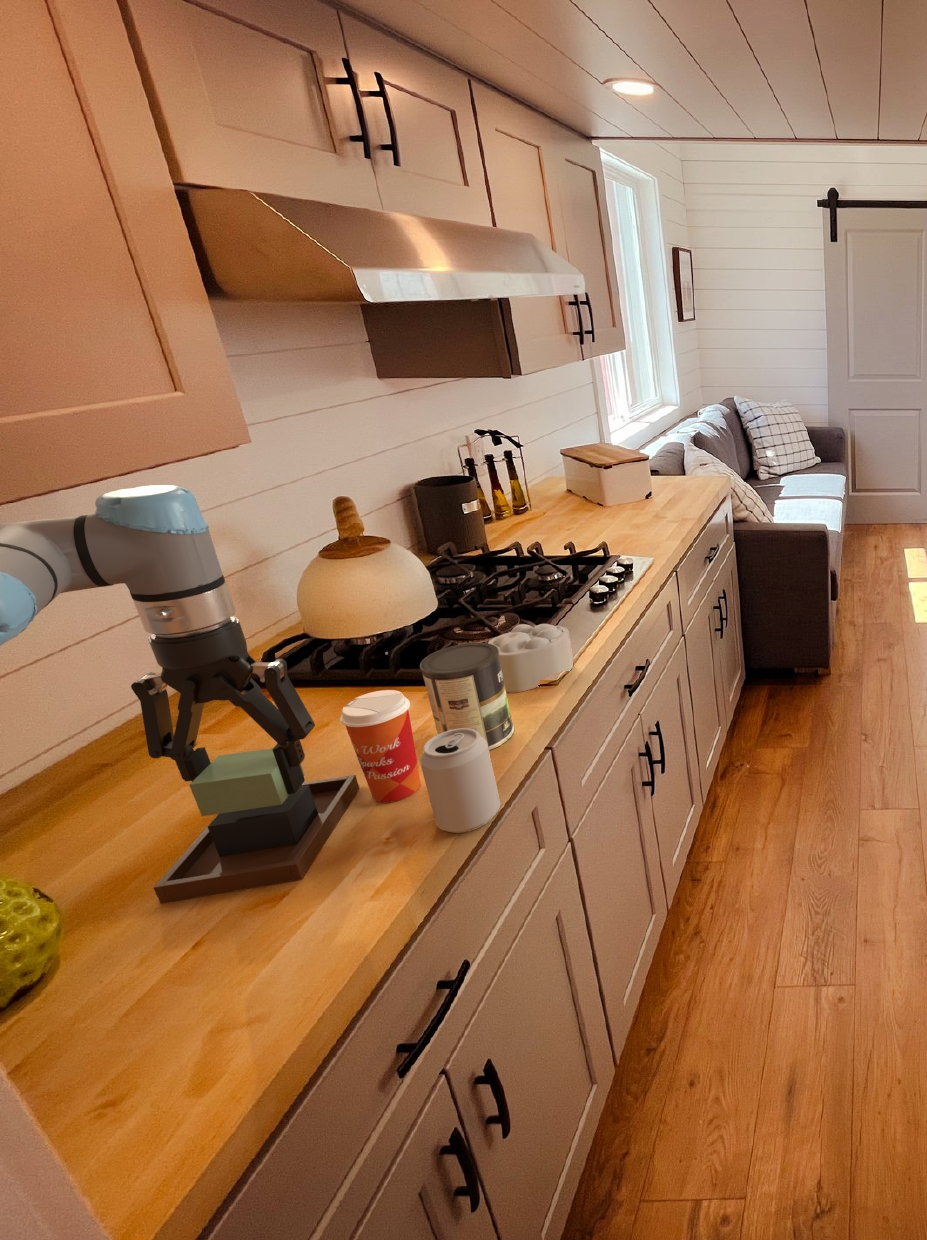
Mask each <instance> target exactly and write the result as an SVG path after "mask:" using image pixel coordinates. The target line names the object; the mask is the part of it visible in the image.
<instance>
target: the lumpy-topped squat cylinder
mask: <svg viewBox="0 0 927 1240" xmlns="http://www.w3.org/2000/svg"><path fill="white" fill-rule="evenodd" d="M487 643H488V644H492V645H494V646H496V647H497V648H498V650H499V660H500V665H501V670H502V675H503V679H504V684H505V689H506V693H510V694H511V693H522V692H525V691H529V690H533V689H536V687H537V688H540V687H539V686H538V685H540V684H539V682H540V680H541V679H543V678H545V677H548V676H550V675H553V674H556V673H558V672H561V671H570V670H571V668H572V666H573V660H574V655H573V649H572V643H571V636H570V631H569V629H568V628H567V627H565V626H562V625H552V624H549V623H540V624H538V625H534V626H532V625H529V624H527V623H526V624H525V623H520V624H517V625H516V626H514V627H513V628H512V629H511V631H510V632H507V633H503V634H500V635H498V636H495V637H493V638H492V639H490V640H489V641H488V642H487ZM571 671H572V670H571ZM571 671H570V672H571Z"/></svg>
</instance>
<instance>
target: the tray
mask: <svg viewBox="0 0 927 1240" xmlns="http://www.w3.org/2000/svg"><path fill="white" fill-rule="evenodd" d="M306 785H309V787H310V790H311V793H312V796H313V799H314V802H315V806H316V809H317V812H318V814H317V816H316V817H315V819H314V820H313V822H312V823H311V825H310V826H309V827H308V829H307V830H306V832H305V833H304V835H303V836H302V838H301V839H300V841H299V842H298V844H296V845H289V846H283V847H277V848H271V849H264V850H258V851H252V852H245V853H239V854H233V855H227V856H220V857H219V855H218V852H217V850H216V847H215V845H214V842H213V839H212V837H211V834H210V832H209V829H208V826H209V824H208V825H207V826H206V827H205V828H204V829H203V830H202V831H201V833H200V834H199V835H198V836H197V837H196V839H194V840H193V842H192V843H191V844H190V845H189V847H188V848H187V849H186V850H185V851H184V852H183V853H182V855H181V856H180V857H179V858H178V859H177V860H176V861H175V863H173V865H172V866H171V867H170V868H169V870H167V871H166V872H165V874H164V875H163V876H162V877H161V879H159V880H158V882H157V883H156V884H155V885H154V886H153V890H154V892H155V895H156V897H157V899H158V901H159V904H165V903H172V902H177V901H183V900H189V899H194V898H200V897H201V898H202V897H206V896H212V895H218V894H224V893H229V892H236V891H242V890H249V889H254V888H259V887H265V886H270V885H277V884H282V883H289V882H293V881H301V880H303V879H304V877H305V875H306V874H307V872H308V870H309V869H310V867H311V866H312V865H313V863H314V861H315V860H316V858H317V857H318V855H319V853H320V852H321V851H322V849H323V847H324V845H325V844H326V842H327V840H328V839H329V838H330V836H331V834H332V833H333V831H334V829H336V826H337V825H338V823H339V822H340V820H341V818H342V817H343V816H344V814H345V812H346V811H347V809H348V807H349V806H350V805H351V802H352V801H353V800H354V798H355V797H356V795H357V794H358V792H359V790H360V786H359V782H358V778H357V775H356V774H352V775H345V776H338V777H332V778H324V779H318V780H316V779H315V780H310V781H304V782H303V784H302V785H301V786H306ZM215 818H216V816H215V817H214V818H213V819H212V820H211V822H212V821H213V820H214V819H215Z"/></svg>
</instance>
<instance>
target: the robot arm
mask: <svg viewBox="0 0 927 1240" xmlns="http://www.w3.org/2000/svg"><path fill="white" fill-rule="evenodd" d="M121 584H122V585H123V584H125V585H126V587H127V589H128V590H129V595H130V597H131V599H132V601H133V603H134V606H135V608H136V611H137V613H138V616H139V618H140V621H141V624H142V626H143V629H144V631H145V632H146V633H147V634H150V636H149V637H148V640H147V641H148V643H149V646H150V648H151V651H152V653H153V655H154V659H155V661H156V663H157V664H158V666H159V667H161V668H162V669H161V672H159V673H156V672H153V671H151V672H147V673H145V674H144V675H142V676H141V677H139V678H138V679H137V680H136V681H134V682H133V683H131V685H130V688H131V690H132V692H133V693H134V694H135V696H136V697H137V699H138V700H139V702H140V708H141V714H142V715H141V716H142V720H143V721H142V722H143V727H144V734H145V740H146V745H147V752H148V756H149V757H150V758H152V759H160V758H161V757H163V758H170V759H171V760H172V761H174V762H175V764H176V766H177V769H178V771H179V774H180V776H181V779H182V780H183V781H184V782H191V783H192V782H193V781H194V780H195V779H196V777H197V776H199V775H200V774H201V773H202V772H203V771H204V770H205V769H206V768H207V766H208V765H209V764H210V763H211V762H212V761H211V760H210V757H209V754H208V752H207V749H206V747H205V746H204V747H203V746H202V747H196V746H197V745H198V744H199V743H200V742H199V741H197V740H198V735H199V730H200V725H201V721H202V717H203V712H204V711H203V710H204V707H205V704H206V703H210V702H213V701H222V702H223V701H228V702H230V703H231V704H232V705H233V706H234V707H236V708H237V707H238V708H241V709H242V711H244V712H245V713H246V714H247V715H248V716H249V717H250V719H252V720H253V721H254V722H255V723H256V724H257V725H258V726H259V727H260V728H261V729H262V730H263V731H265V733H266V734H268V735H269V736H270V738H271V739H272V740H274V741H275V743H276V744H275V746H274V747H272V748H273V749H272V748H271V749H272V750H273V753H274V756H275V759H276V762H277V765H278V767H279V770H280V773H281V776H282V778H283V781H284V784H285V787H286V790H287V793H288V794H294V793H296V791H297V790H298V789H299V787H300V786H301V785H302V784H303V782H306V778H305V775H304V776H303V773H302V770H301V767H300V764H301V765H302V763H303V761H304V760H305V757H306V755H305V754H306V753H305V752H304V749H303V745H302V742H301V740H305V739H306V738H307V737H308V735H309V734H310V733H311V732H312V731H313V729H314V728H315V727H316V723H315V721H314V720H313V717H312V716H311V714H310V713H309V710H308V709H307V707H306V706H305V704H304V702H303V700H302V699H301V697H300V695H299V694H298V691H297V690H296V688H295V687H294V685H293V682H292V681H291V680H290V678H289V675H288V663H287V661H286V660H285V659H283V658H277V659H275V660H274V661H273V662H264V661H263V662H262V661H261V662H258V661H256V659H255V658H254V657H252V656H251V655H250V653H249V652H248V644H247V643H248V642H247V640H246V637H245V634H244V630H243V628H242V625H241V622H240V620H239V618H238V617H236V616H234V615H236V612H237V609H236V607H235V605H234V604H235V603H234V601H233V599H232V596H231V593H230V589H229V587H228V585H227V582H226V579H225V576H224V574H223V571H222V567H221V563H220V561H219V558H218V555H217V552H216V549H215V544H214V543H213V539H212V536H211V532H210V529H209V524H208V522H207V521H206V520H205V518H204V515H203V513H202V511H201V509H200V506H199V504H198V501H197V499H196V497H195V494H194V493H193V492H192V491H191V490H189V489H187V488H185V487H183V486H180V485H173V484H169V485H168V484H156V485H143V486H137V487H133V488H131V487H130V488H122V489H121V488H120V489H117V490H112V491H109V492H105V493H103V494H100V495H99V496H98V497H97V498H96V499H95V511H94V512H92V513H89V514H84V515H75V516H67V517H66V516H65V517H56V518H45V519H36V520H26V521H25V520H23V521H15V522H5V523H0V647H1V646H3V645H4V644H7V643H8V642H9V641H10V640H13V639H15V638H16V637H18V636H19V635H20V634H21V633H23V632H25V631H26V629H27V628H28V626H29V625H30V624H31V623H32V622H33V621H34V619H35V618H36V617H37V615H38V614H39V613H40V612H41V611H42V610H44V609H45V608H46V607H47V606H48V605H49V604H50V603H52V602H53V600H55V599H56V598H57V597H58V596H59V595H60V594H63V593H70V592H77V591H83V590H91V589H97V588H104V587H112V586H114V585H121ZM254 674H255V675H257V676H258V677H259V681H260V682H261V683H264V685H265V688H266V691H267V693H268V695H269V696H270V698H271V699H272V701H273V702H274V704H273V702H272V701H271V700H270V699H269V698H268V697H266V695H265V694H264V693H263V692H262V688H261V687H260V685H259V684H258V683H257V682H256V681H255V680H254V679H253V678H252V677H253V676H254ZM168 687H170V688H172V689H173V690H175V691H176V692H178V693H179V694H180V695H179V699H178V704H177V711H178V715H177V719H176V724H175V728H174V727H173V726H174V725H173V720H172V714H171V706H170V700H169V699H170V698H169V694H168V690H167V688H168ZM242 692H243V693H242ZM195 747H196V749H194V748H195Z"/></svg>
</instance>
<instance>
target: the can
mask: <svg viewBox="0 0 927 1240" xmlns="http://www.w3.org/2000/svg"><path fill="white" fill-rule="evenodd" d="M422 747H423V748H422V750H423V752H422V754H421V756H420V758H419V763H420V767H421V771H422V775H423V778H424V782H425V783H424V784H425V786H426V790H427V791H426V792H427V794H428V798H429V802H430V805H431V810H432V814H433V817H434V821H435V825H436V827H437V828H438V829H440V830H441V831H444V832H449V833H453V834H462V833H466V832H467V833H468V832H471V831H474V830H477V829H479V828H481V827H482V826H483V827H484V825H486V824H487V823H488V822H490V821H491V820H492V818H493V817H494V816H496V814H497V813H498V811H499V810H500V807H501V800H500V795H499V791H498V785H497V782H496V776H495V773H494V767H493V763H492V759H491V754H490V750H489V749H488V744H487V742H486V740H485V739H484V738H482V737H481V736H480V735H479V732H477V731H476V730H474V729H469V728H460V729H453V730H449V731H446V732H443V733H441V734H438V733H437V734H436V735H434V736H433V737H431V738H430V739H428V741H426V742H425V743H424V745H423V746H422Z"/></svg>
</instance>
